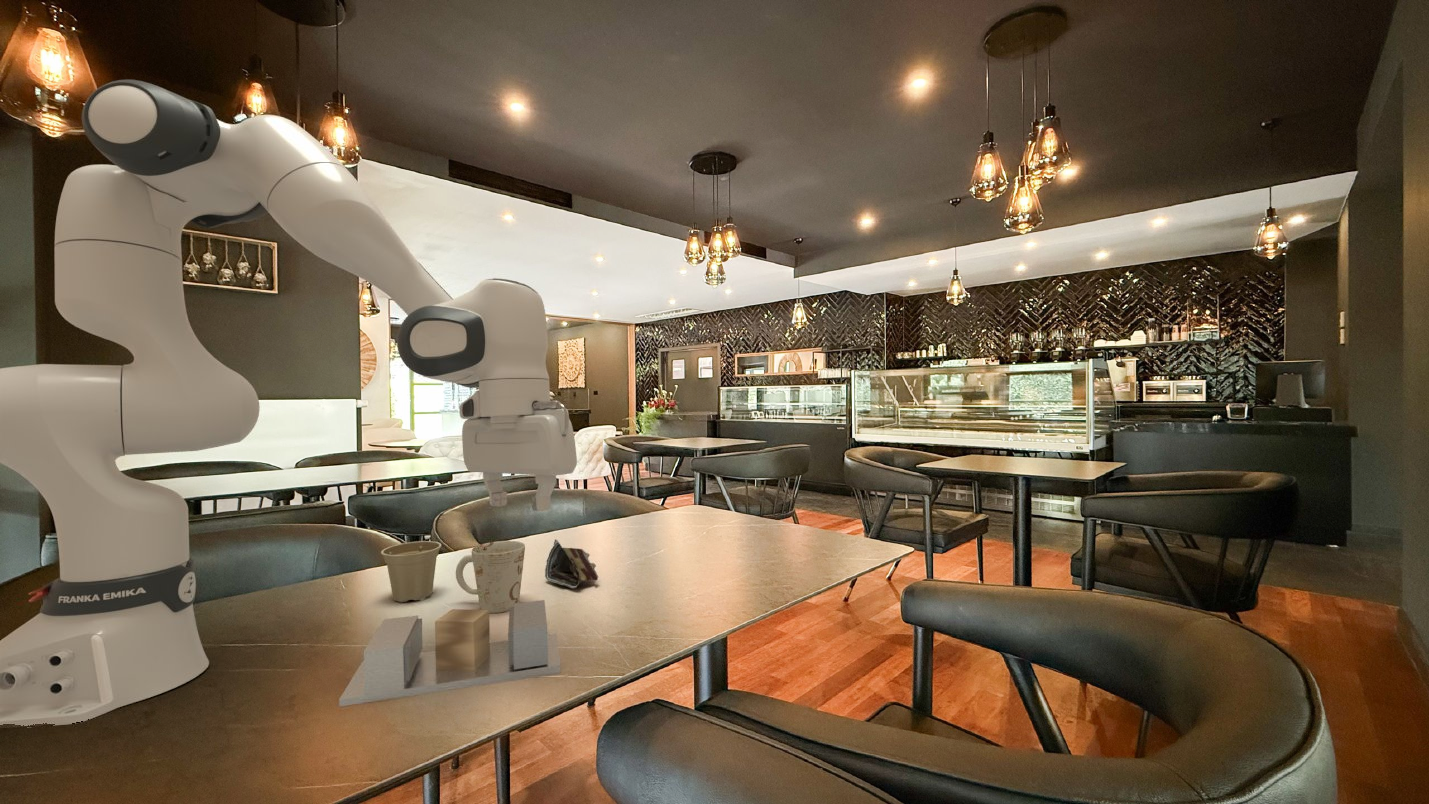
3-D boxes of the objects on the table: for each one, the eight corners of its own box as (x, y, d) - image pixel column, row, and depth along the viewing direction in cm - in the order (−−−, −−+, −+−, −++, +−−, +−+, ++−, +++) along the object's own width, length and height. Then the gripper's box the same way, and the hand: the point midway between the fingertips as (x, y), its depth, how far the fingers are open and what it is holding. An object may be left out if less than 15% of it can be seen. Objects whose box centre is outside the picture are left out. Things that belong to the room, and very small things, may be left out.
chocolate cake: (613, 581, 106) (595, 530, 114) (580, 580, 101) (564, 526, 109) (586, 612, 109) (571, 559, 117) (553, 612, 104) (540, 557, 112)
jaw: (508, 670, 70) (508, 631, 70) (510, 638, 79) (509, 604, 79) (548, 664, 71) (547, 626, 71) (545, 633, 81) (544, 599, 81)
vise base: (339, 710, 64) (338, 655, 64) (363, 670, 74) (361, 622, 74) (560, 674, 72) (559, 624, 72) (556, 642, 81) (555, 598, 81)
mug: (508, 617, 91) (507, 554, 91) (438, 612, 93) (437, 551, 93) (535, 599, 99) (534, 541, 99) (470, 595, 101) (469, 539, 101)
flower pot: (425, 605, 97) (424, 554, 97) (370, 606, 97) (369, 555, 97) (451, 587, 106) (450, 540, 106) (401, 587, 106) (400, 541, 106)
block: (435, 669, 71) (434, 621, 71) (453, 654, 75) (452, 609, 75) (474, 670, 71) (473, 621, 71) (490, 655, 75) (489, 609, 75)
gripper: (586, 399, 72) (590, 509, 72) (493, 405, 84) (496, 500, 84) (544, 399, 67) (549, 517, 67) (452, 406, 79) (455, 506, 79)
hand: (519, 507), depth 75 cm, fingers open, 8 cm apart
